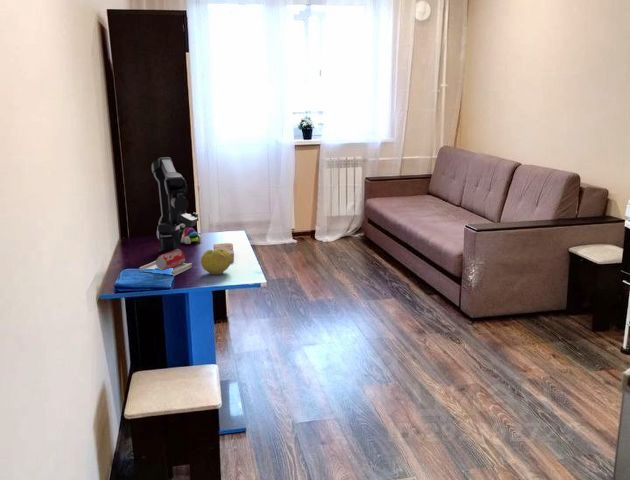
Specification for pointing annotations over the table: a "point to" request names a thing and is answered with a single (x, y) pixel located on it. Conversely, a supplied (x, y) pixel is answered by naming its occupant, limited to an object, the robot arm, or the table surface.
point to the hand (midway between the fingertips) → (178, 244)
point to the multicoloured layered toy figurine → (190, 236)
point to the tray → (176, 269)
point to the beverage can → (170, 259)
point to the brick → (226, 247)
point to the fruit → (216, 261)
